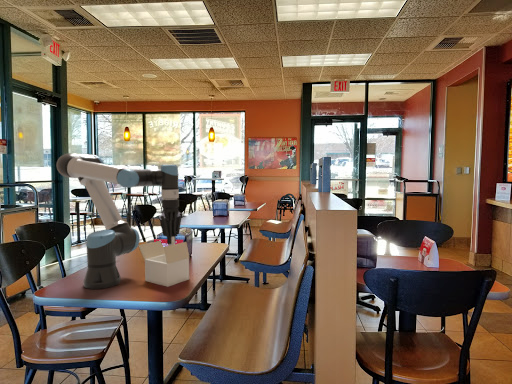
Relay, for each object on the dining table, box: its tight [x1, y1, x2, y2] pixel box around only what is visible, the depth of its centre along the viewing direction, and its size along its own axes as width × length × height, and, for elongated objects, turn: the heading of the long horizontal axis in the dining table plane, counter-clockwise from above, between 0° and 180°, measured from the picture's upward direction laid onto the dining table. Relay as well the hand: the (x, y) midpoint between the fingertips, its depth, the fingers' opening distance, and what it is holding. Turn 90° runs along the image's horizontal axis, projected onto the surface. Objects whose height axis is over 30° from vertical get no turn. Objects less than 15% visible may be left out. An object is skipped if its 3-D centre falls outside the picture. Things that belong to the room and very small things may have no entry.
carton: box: [144, 254, 190, 288], centre depth 163 cm, size 13×15×10 cm
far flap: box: [137, 241, 165, 261], centre depth 169 cm, size 13×8×1 cm
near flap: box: [164, 241, 191, 264], centre depth 159 cm, size 13×8×1 cm
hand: (171, 250), depth 161 cm, fingers closed
